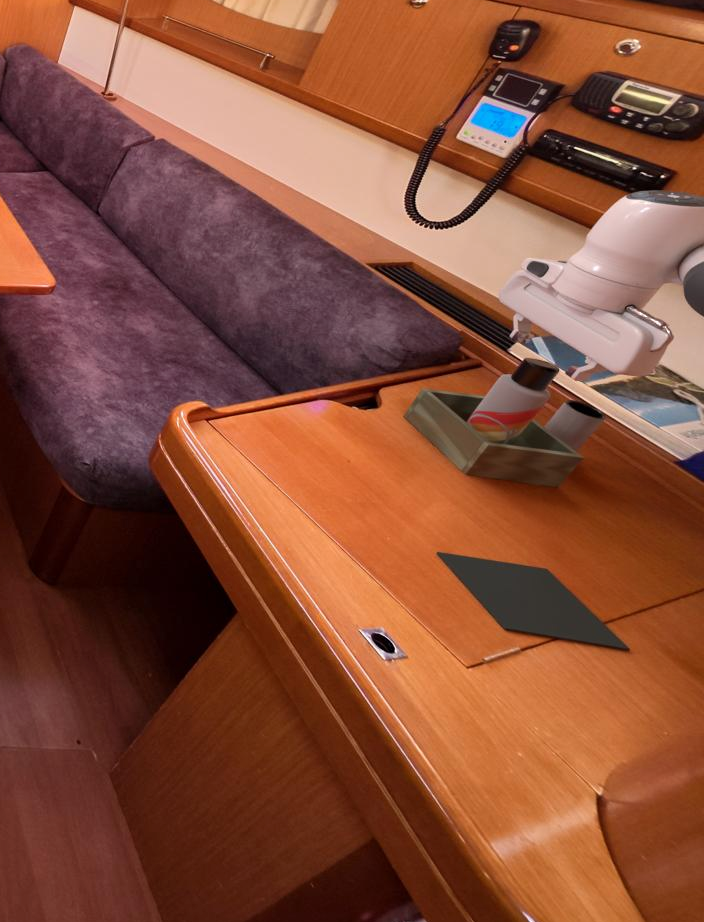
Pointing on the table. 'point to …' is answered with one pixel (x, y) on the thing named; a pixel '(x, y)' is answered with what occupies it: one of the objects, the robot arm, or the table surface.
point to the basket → (523, 461)
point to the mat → (530, 601)
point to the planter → (575, 423)
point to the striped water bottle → (513, 401)
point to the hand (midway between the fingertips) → (545, 358)
